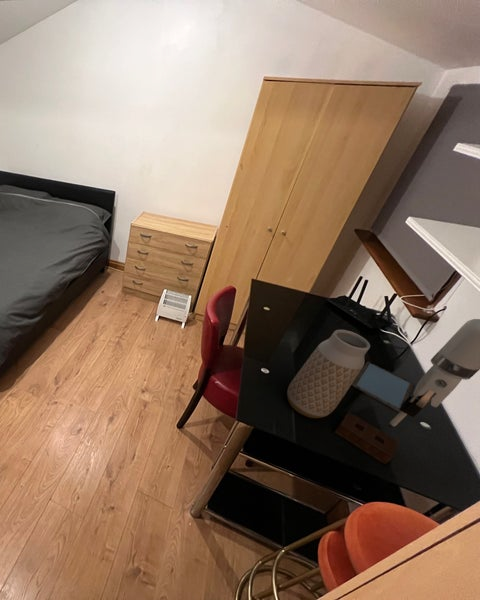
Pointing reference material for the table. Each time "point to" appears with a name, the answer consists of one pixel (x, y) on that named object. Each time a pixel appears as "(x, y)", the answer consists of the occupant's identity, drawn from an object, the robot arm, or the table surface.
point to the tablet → (383, 386)
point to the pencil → (398, 418)
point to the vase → (328, 374)
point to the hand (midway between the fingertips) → (407, 410)
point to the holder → (367, 438)
